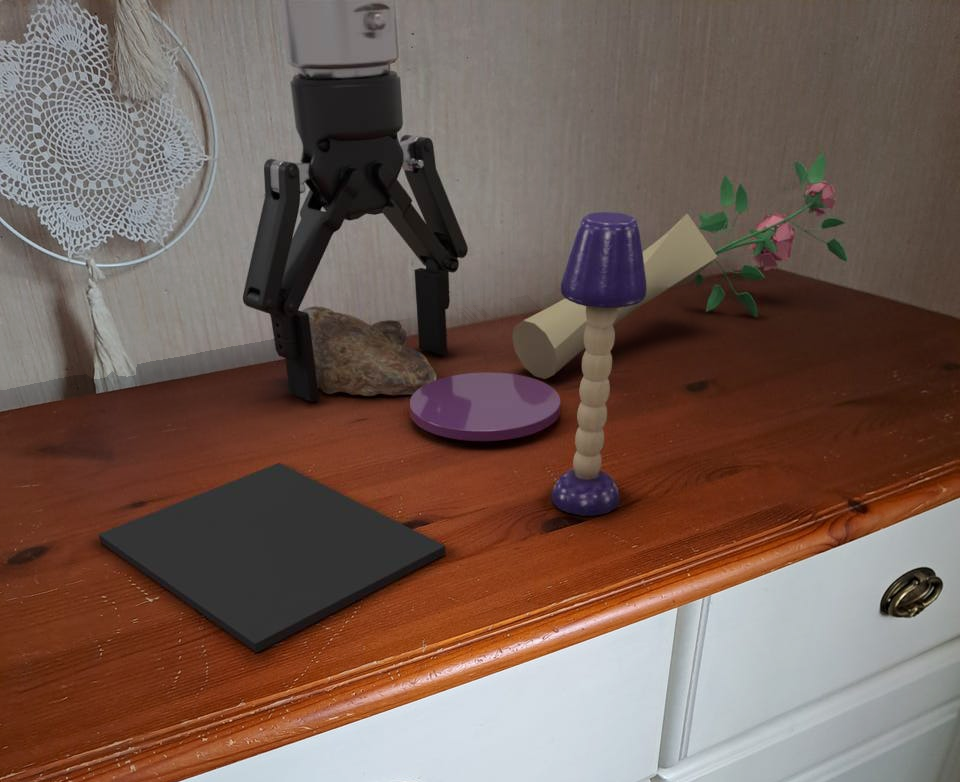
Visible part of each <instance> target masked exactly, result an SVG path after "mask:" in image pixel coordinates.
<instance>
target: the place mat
mask: <svg viewBox="0 0 960 782" xmlns="http://www.w3.org/2000/svg"><path fill="white" fill-rule="evenodd" d="M98 538H99V542H100V543H101V544H103V545H104V547H107V548H108V549H109V550H111V551H112V553H115V554H116V555H118V556H119V557H120V558H122V559H123V560H125V561H126V562H127V563H129V564H130V565H132V566H134V568H136V569H137V570H139V571H140V572H142V573H143V574H145V575H146V576H147V577H149V579H152V580H153V581H154V582H156V583H157V584H158V585H160V586H161V587H162V588H164V589H166V590H167V591H168V592H170V593H171V594H173V595H174V596H176V597H177V598H178V599H180V600H181V601H183V602H184V603H186V604H187V605H188V606H190V607H191V608H193V609H194V610H195V611H197V612H198V613H200V614H201V615H203V616H204V617H205V618H206V619H208V620H210V621H211V622H212V623H214V624H215V625H216V626H218V627H220V628H221V629H222V630H224V631H225V632H227V633H228V634H229V635H231V636H232V637H234V638H235V639H237V640H238V641H239V642H241V643H242V644H243V645H245V646H247V647H248V648H249V649H250V650H252V651H253V652H255V653H260V652H262V651H264V650H266V649H267V648H269V647H271V646H273V645H275V644H277V643H278V642H281V641H283V640H285V639H287V638H289V637H290V636H293V635H294V634H297V633H298V632H300V631H301V630H304V629H305V628H307V627H310V626H311V625H313V624H316V623H317V622H319V621H321V620H323V619H325V618H327V617H328V616H330V615H332V614H334V613H337V612H338V611H340V610H342V609H344V608H345V607H346V608H347V606H350V605H351V604H354V603H355V602H357V601H360V600H361V599H363V598H365V597H367V596H370V594H373V593H374V592H376V591H379V590H380V589H382V588H384V587H387V586H388V585H390V584H392V583H394V582H396V581H398V580H399V579H401V578H403V577H405V576H407V575H409V574H411V573H413V572H415V571H416V570H418V569H421V568H422V567H424V566H426V565H429V564H430V563H432V562H433V561H434V562H435V561H436V560H438V559H440V558H442V557H443V556H445V555H446V553H447V552H446V545H444V544H443V543H440V542H438V541H437V540H435V539H434V538H433V539H432V538H431V537H428V536H427V535H425V534H423V533H420V532H418V531H416V530H414V529H412V528H411V527H409V526H406V525H405V524H403V523H400V522H398V521H397V520H395V519H393V518H390V517H388V516H387V515H385V514H383V513H381V512H378V511H376V510H374V509H373V508H371V507H369V506H367V505H365V504H362V503H360V502H359V501H357V500H354V499H353V498H351V497H348V496H346V495H345V494H343V493H340V492H338V491H337V490H334V489H332V488H331V487H329V486H326V484H325V485H324V484H322V483H321V482H319V481H317V480H315V479H312V478H310V477H309V476H306V475H304V474H302V473H300V472H298V471H297V470H295V469H292V468H290V467H289V466H286V465H285V464H282V463H281V462H277V463H275V464H272V465H270V466H267V467H264V468H262V469H259V470H257V471H255V472H252V473H249V474H246V475H245V476H242V477H239V478H236V479H235V480H232V481H228V482H227V483H224V484H221V485H219V486H217V487H214V488H211V489H208V490H205V491H204V492H201V493H198V494H196V495H193V496H191V497H189V498H186V499H184V500H181V501H178V502H176V503H173V504H171V505H169V506H166V507H163V508H161V509H158V510H155V511H153V512H151V513H148V514H146V515H143V516H140V517H138V518H135V519H133V520H130V521H128V522H125V523H122V524H120V525H118V526H115V527H113V528H110V529H108V530H105V531H102V532H100V533H98Z"/></svg>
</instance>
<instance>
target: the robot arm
mask: <svg viewBox="0 0 960 782" xmlns="http://www.w3.org/2000/svg"><path fill="white" fill-rule="evenodd" d="M280 6H281V7H280V8H281V15H282V26H283V35H284V43H285V44H284V45H285V55H286V62H287V63H288V64H289V65H290V66H291V67H294V68H296V70H297V74H295V75H293V77H292V80H291V81H290V82H289V83H290V90H291V91H290V92H291V98H292V107H293V116H294V124H295V129H296V133H297V134H298V136H299V139H300V141H301V145H302V152H301V157H300V161H285V160H280V159H276V158H275V159H274V158H269V159H266V161H265V162H264V164H263V177H264V179H263V180H264V201H263V203H262V207H261V213H260V217H259V222H258V227H257V231H256V235H255V240H254V244H253V247H252V248H253V249H252V253H251V257H250V262H249V267H248V270H247V271H248V272H247V276H246V281H245V284H244V288H243V289H244V290H243V294H242V302H243V304H244V305H245V306H246V307H248V308H251V309H254V310H257V311H260V312H263V313H264V314H265V313H266V314H269V316H270V320H271V327H272V335H273V341H274V347H275V351H276V353H277V355H278V356H279V357H280V358H284V360H285V367H286V374H287V380H288V389H289V394H291V395H292V396H296V397H298V398H300V399H302V400H305V401H308V402H310V403H313V402H316V401H319V400H320V394H319V389H318V386H317V378H316V370H315V362H314V354H313V346H312V338H311V330H310V322H309V314H308V313H305V312H302V310H299V309H300V307H301V305H302V302H303V301H304V299H305V296H306V294H307V292H308V290H309V287H310V285H311V283H312V281H313V279H314V277H315V274H316V272H317V270H318V268H319V265H320V263H321V261H322V258H323V256H324V255H325V252H326V250H327V249H328V246H329V244H330V241H331V239H332V237H333V235H334V233H335V232H338V231H339V230H340V229H341V227H342V226H343V224H344V221H355V220H359V219H360V218H362V217H363V216H365V215H371V216H372V215H373V216H375V215H380V214H383V215H384V217H385V218H386V220H387V221H388V222H389V223H390V224H391V226H392V227H393V228H394V229H395V231H396V232H397V233H398V235H399V236H400V237H401V239H402V240H403V241H404V242H405V244H406V245H407V247H409V249H410V251H412V253H413V254H414V255H415V256H416V258H417V259H418V260H419V261H420V263H421V264H422V265H423V266H425V268H424V267H420V268H416V269H414V270H413V271H414V285H415V302H416V303H415V304H416V317H417V319H416V321H417V336H418V349H420V350H423V351H426V352H429V353H432V354H435V355H438V356H443V355H446V354H448V337H447V336H448V335H447V314H446V310H448V309H449V307H450V303H451V299H450V298H451V296H450V273H452V274H454V273H456V272H457V271H458V269H459V267H460V263H459V262H460V261H459V258H460V259H464V258H465V257H466V256H467V255H468V251H469V248H468V244H467V242H466V239H465V237H464V234H463V231H462V229H461V226H460V224H459V221H458V219H457V217H456V215H455V212H454V210H453V207H452V203H451V202H450V199H449V197H448V194H447V192H446V189H445V187H444V185H443V182H442V180H441V177H440V175H439V172H438V170H437V163H436V156H435V147H434V142H433V140H432V139H431V138H430V137H425V136H418V135H411V134H404V135H402V136H401V138H400V141H399V137H398V133H399V132H400V131H401V130H402V128H403V126H404V118H403V117H404V115H403V100H402V99H403V98H402V85H401V84H402V83H401V76H399V75H398V73H397V72H396V71H395V70H391V64H394V63H396V62H397V60H398V59H399V43H398V26H397V10H396V0H280ZM402 169H403V172H404V175H405V178H406V180H407V183H408V185H409V187H410V190H411V192H412V195H413V197H414V199H415V202H416V203H417V206H418V208H419V210H420V213H421V215H420V213H419V212H418V211H417V209H416V208H415V206H414V205H413V204H412V203H413V199H412V197H411V196H410V195H409V193H408V192H407V190H406V189H405V188H404V187H403V185H402V184H401V182H400V181H399V179H398V177H399V175H400V173H401V170H402ZM306 187H307V188H308V189H309V190H308V193H307V195H306V197H305V199H304V202H303V204H302V206H301V208H300V204H301V194H304V193H305V192H306ZM322 208H323V210H324V211H323V210H322ZM298 215H299V216H300V221H299V223H298V225H297V219H298ZM296 225H297V227H296ZM295 228H296V230H295Z"/></svg>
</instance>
